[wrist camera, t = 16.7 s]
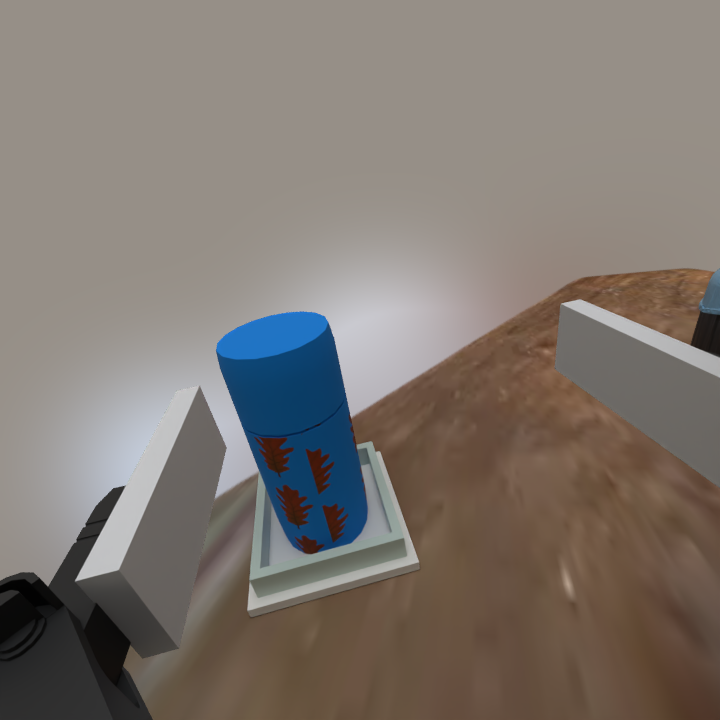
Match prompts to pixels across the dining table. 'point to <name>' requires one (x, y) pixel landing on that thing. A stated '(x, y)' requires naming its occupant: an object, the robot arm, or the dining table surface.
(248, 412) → the leaf-print tea canister
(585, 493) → the dining table surface
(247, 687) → the dining table surface
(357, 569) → the holder
